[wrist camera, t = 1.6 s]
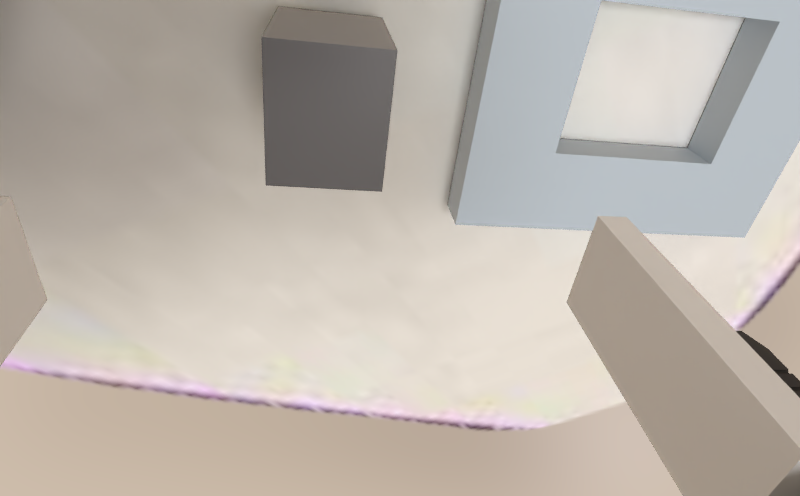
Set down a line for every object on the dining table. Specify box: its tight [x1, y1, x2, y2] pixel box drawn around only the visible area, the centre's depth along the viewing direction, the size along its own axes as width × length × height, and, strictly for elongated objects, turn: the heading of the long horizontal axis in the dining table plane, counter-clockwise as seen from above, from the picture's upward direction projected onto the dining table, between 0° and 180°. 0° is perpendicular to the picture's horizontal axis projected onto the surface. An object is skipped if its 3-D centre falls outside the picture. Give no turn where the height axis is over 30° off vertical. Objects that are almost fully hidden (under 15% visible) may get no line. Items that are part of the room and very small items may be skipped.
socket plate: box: [448, 0, 800, 238], centre depth 29 cm, size 20×18×2 cm
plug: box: [262, 6, 397, 192], centre depth 24 cm, size 5×6×8 cm
